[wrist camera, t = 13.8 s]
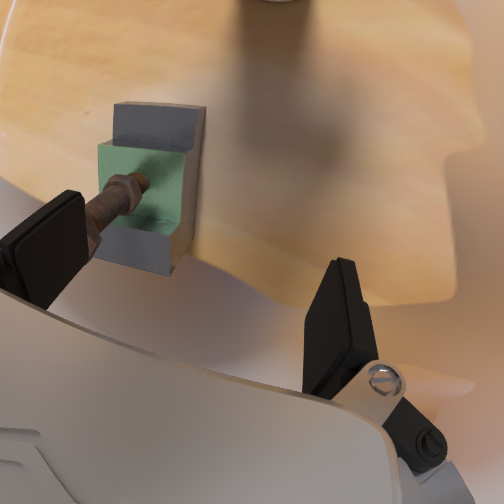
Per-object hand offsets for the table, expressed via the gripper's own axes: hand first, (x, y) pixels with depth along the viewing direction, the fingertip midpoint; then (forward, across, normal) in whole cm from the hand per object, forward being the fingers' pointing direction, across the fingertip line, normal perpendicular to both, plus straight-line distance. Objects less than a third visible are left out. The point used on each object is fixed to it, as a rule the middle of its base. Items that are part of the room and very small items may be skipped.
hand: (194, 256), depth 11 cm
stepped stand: (+31, +14, +10) cm, 36 cm away
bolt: (+24, +14, +9) cm, 30 cm away
